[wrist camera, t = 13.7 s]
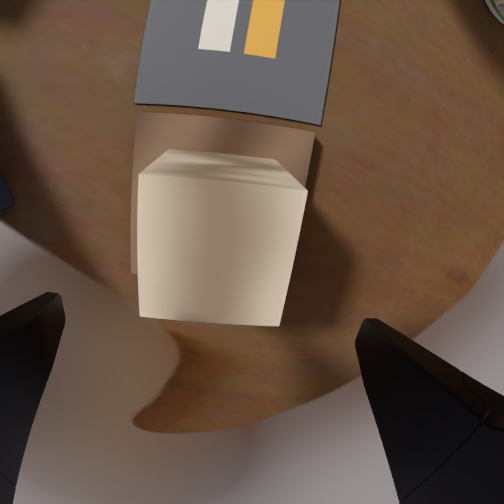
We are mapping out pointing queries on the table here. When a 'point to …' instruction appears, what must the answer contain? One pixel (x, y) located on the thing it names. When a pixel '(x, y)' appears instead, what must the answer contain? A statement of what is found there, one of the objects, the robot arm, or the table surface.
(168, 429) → the table surface
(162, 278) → the maple block
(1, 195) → the vhs cassette tape
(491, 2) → the supplement bottle
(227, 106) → the gray tile
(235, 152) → the walnut pad
